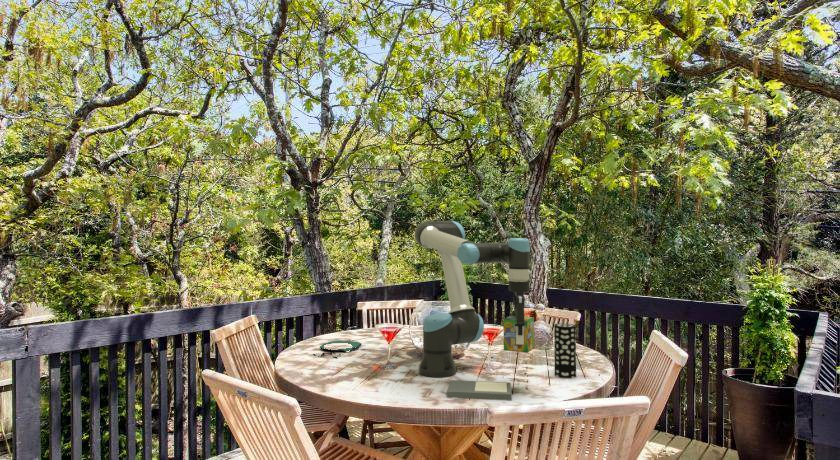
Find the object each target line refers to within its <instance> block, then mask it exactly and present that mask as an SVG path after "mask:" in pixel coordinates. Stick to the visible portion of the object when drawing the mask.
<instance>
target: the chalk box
mask: <svg viewBox="0 0 840 460" xmlns="http://www.w3.org/2000/svg"><path fill="white" fill-rule="evenodd" d="M514 311H515V315H516V309H515V310H514V309H513V312H514ZM502 323H503V327H502V328H503V329H502V330H503V351H505V352H507V351H508V352H517V353H518V352H519V353H525V354H528V353H529V352H531V351H532V350H534V348H535V318H534V317H532V316H525V315H524V323H525V325H524V345H522V344H516V326H515V324H517V320H516V316H513V315H509V316H506V317H504V318H503V322H502Z"/></svg>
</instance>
